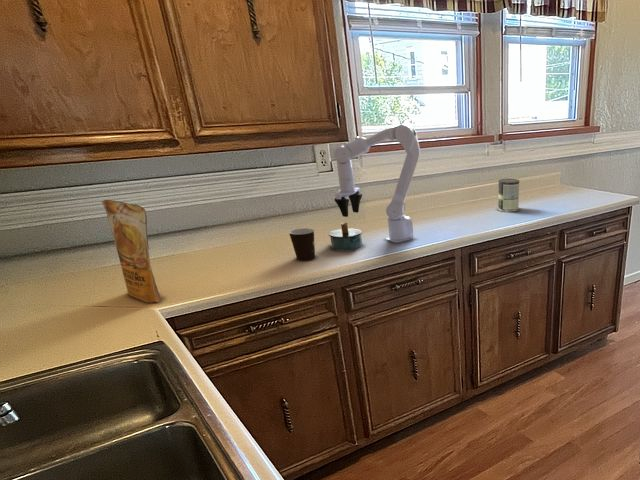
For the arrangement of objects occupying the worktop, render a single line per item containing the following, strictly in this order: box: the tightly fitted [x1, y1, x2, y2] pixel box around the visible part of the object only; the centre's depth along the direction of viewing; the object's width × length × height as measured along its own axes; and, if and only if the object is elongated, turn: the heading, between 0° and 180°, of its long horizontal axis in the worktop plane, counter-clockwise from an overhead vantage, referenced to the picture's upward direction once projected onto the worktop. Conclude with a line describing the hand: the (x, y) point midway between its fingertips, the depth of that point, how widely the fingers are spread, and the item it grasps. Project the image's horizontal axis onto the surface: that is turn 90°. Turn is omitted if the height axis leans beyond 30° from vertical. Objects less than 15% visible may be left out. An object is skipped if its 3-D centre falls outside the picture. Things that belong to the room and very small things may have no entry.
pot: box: [329, 234, 363, 251], centre depth 202 cm, size 12×17×5 cm
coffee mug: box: [288, 227, 316, 262], centre depth 190 cm, size 12×9×10 cm
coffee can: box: [497, 178, 520, 213], centre depth 257 cm, size 10×10×14 cm
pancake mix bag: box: [101, 199, 162, 304], centre depth 152 cm, size 7×19×28 cm, turn 56°
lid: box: [328, 222, 363, 238], centre depth 200 cm, size 13×13×5 cm
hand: (350, 214), depth 208 cm, fingers open, 7 cm apart
